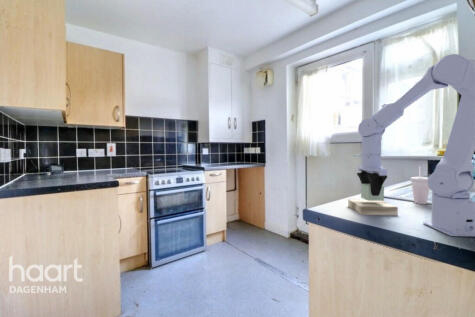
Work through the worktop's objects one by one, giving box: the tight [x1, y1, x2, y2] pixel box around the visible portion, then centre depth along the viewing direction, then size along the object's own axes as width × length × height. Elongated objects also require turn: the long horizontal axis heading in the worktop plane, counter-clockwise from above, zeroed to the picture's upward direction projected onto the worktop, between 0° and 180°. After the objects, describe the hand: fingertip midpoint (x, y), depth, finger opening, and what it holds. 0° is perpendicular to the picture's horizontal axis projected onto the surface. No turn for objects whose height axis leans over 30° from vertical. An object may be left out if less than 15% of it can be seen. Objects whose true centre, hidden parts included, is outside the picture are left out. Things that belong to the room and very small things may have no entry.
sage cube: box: [360, 183, 385, 202], centre depth 77 cm, size 5×5×5 cm
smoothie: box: [410, 166, 430, 205], centre depth 85 cm, size 6×6×14 cm
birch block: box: [347, 198, 399, 216], centre depth 78 cm, size 11×11×3 cm
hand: (371, 193), depth 77 cm, fingers closed on sage cube, 5 cm apart
